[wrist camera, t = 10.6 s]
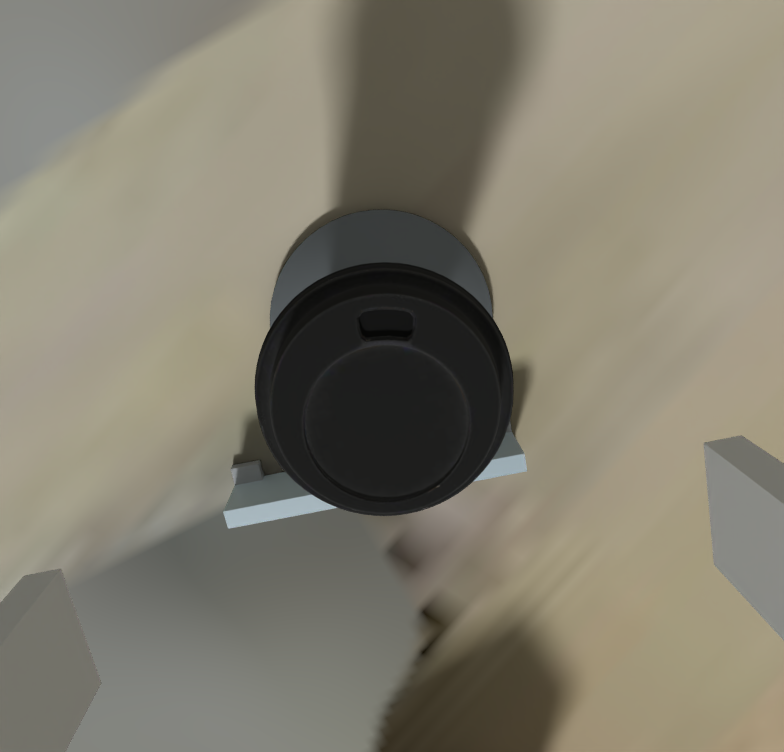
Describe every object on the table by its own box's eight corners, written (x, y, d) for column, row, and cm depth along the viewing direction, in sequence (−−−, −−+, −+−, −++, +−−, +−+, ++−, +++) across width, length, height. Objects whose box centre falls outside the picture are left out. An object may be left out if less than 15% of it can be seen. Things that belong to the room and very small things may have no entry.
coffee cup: (418, 203, 37) (449, 216, 23) (495, 359, 40) (568, 462, 25) (259, 287, 38) (192, 351, 24) (344, 436, 41) (330, 577, 26)
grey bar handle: (245, 512, 42) (232, 545, 38) (232, 465, 41) (218, 494, 38) (515, 460, 42) (529, 488, 38) (507, 411, 41) (521, 435, 37)
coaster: (298, 443, 41) (297, 447, 41) (247, 234, 38) (245, 234, 38) (505, 403, 41) (507, 406, 40) (471, 189, 38) (473, 189, 37)
